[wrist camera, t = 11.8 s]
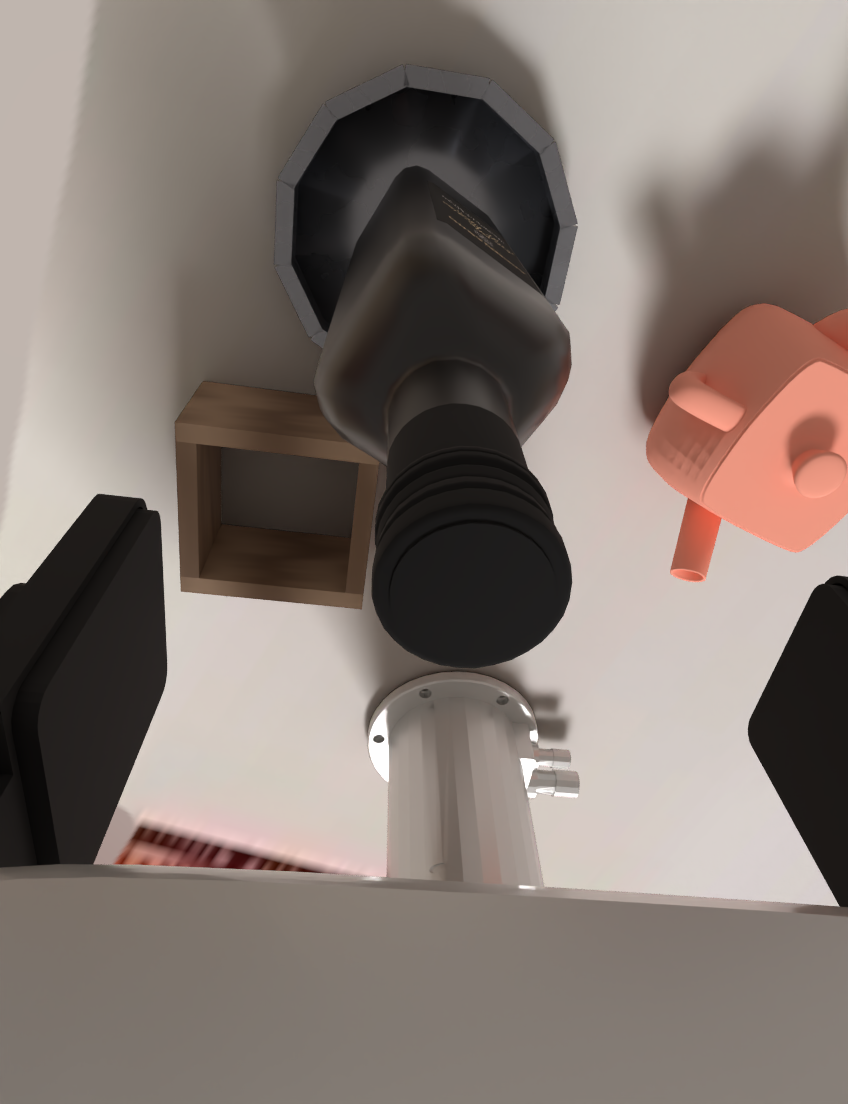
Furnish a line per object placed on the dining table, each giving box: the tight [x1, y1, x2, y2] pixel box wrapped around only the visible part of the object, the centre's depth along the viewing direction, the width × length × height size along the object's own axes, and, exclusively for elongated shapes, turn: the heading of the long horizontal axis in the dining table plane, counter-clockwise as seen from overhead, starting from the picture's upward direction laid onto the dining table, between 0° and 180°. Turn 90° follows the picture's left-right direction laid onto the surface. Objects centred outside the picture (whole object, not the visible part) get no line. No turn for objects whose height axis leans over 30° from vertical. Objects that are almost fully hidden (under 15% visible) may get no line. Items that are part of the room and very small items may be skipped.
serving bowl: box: [274, 64, 578, 348], centre depth 36 cm, size 14×14×3 cm
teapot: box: [646, 303, 848, 582], centre depth 38 cm, size 14×12×10 cm
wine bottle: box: [313, 165, 572, 668], centre depth 24 cm, size 6×6×30 cm
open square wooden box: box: [175, 381, 379, 609], centre depth 41 cm, size 10×10×6 cm
